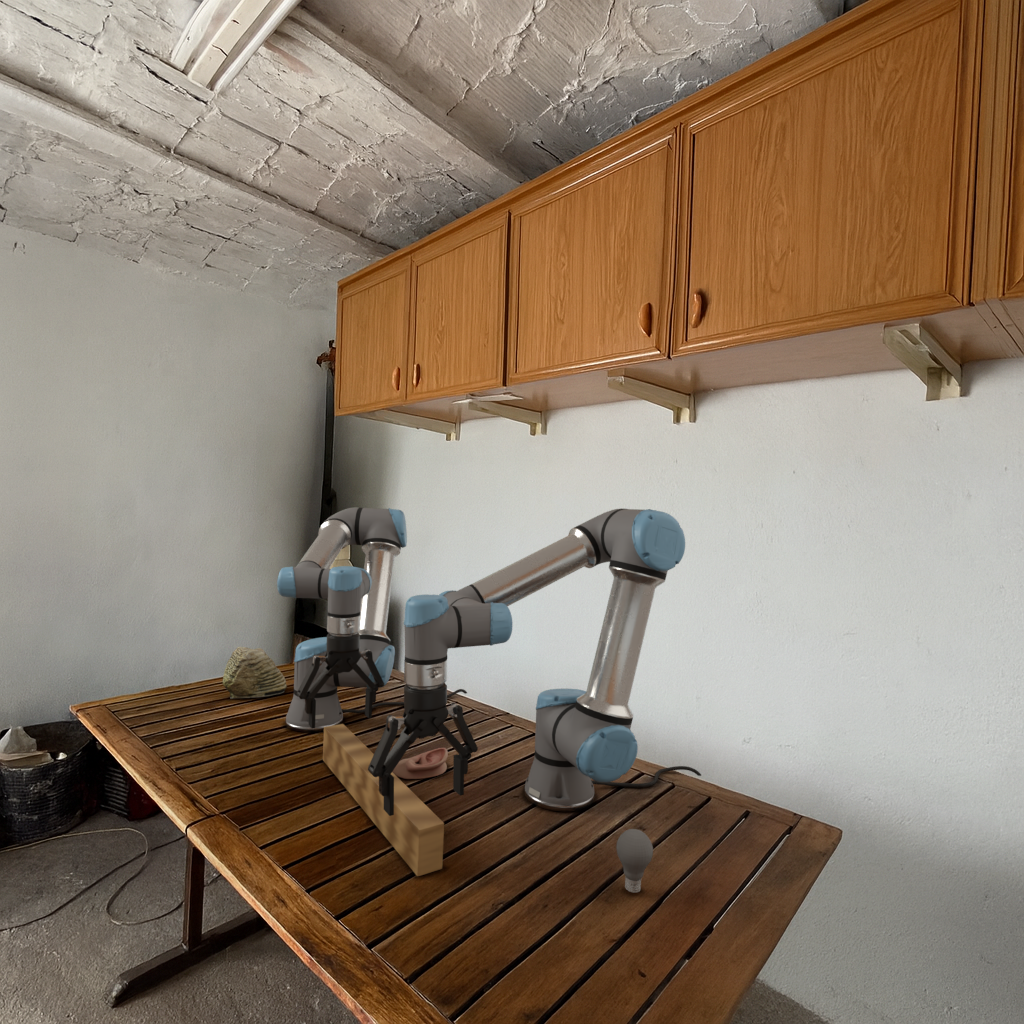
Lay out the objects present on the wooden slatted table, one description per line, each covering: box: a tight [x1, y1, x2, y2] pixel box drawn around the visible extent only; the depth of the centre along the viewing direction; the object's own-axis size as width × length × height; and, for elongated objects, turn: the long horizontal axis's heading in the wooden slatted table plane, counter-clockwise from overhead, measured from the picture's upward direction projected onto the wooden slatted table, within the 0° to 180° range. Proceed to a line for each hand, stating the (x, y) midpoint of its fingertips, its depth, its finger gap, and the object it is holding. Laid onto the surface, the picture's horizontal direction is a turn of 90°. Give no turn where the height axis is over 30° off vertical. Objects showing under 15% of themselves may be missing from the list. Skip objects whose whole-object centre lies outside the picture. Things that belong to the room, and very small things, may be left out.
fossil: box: [222, 646, 288, 699], centre depth 198 cm, size 9×18×15 cm, turn 132°
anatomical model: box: [392, 747, 449, 780], centre depth 149 cm, size 13×4×12 cm
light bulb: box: [615, 828, 654, 894], centre depth 106 cm, size 6×6×10 cm
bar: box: [322, 723, 445, 877], centre depth 131 cm, size 54×5×8 cm, turn 33°
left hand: (340, 721), depth 150 cm, fingers open, 13 cm apart
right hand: (424, 802), depth 112 cm, fingers open, 13 cm apart
